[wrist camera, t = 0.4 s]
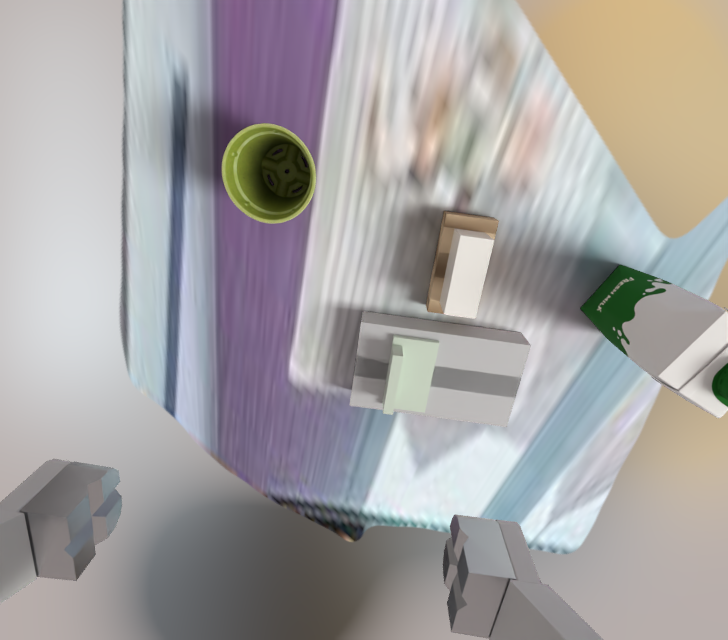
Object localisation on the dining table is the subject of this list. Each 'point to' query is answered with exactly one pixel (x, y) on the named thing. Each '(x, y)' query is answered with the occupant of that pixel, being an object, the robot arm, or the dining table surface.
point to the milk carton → (666, 334)
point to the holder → (444, 245)
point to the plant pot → (255, 161)
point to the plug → (465, 273)
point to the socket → (445, 367)
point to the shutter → (409, 374)
